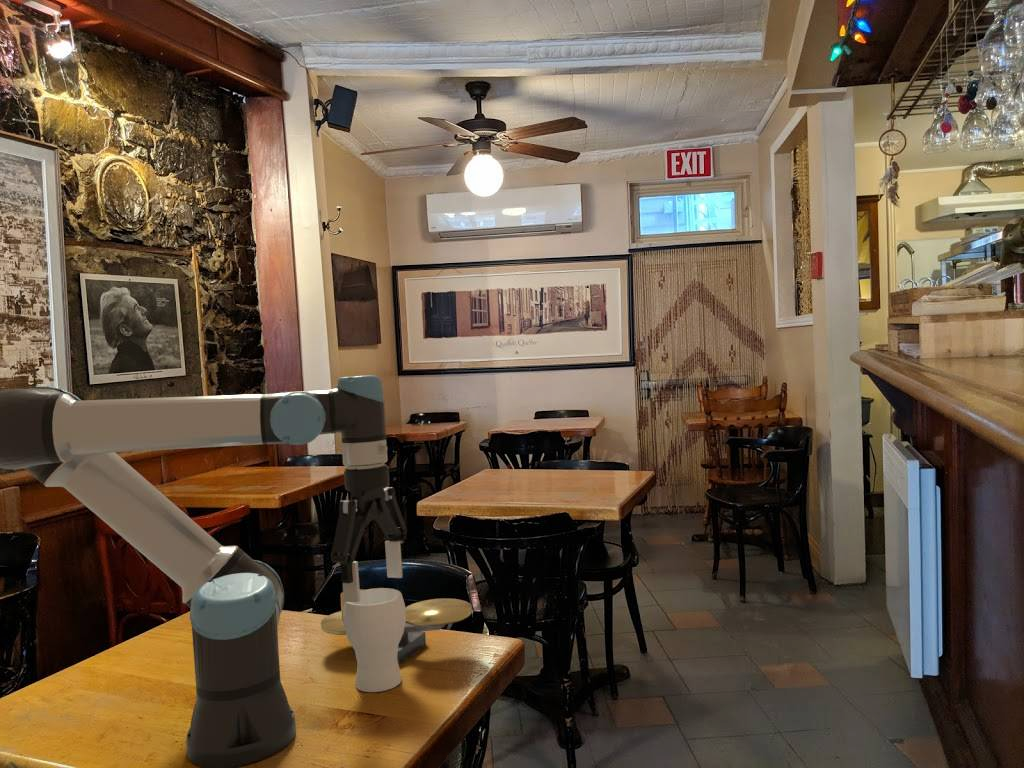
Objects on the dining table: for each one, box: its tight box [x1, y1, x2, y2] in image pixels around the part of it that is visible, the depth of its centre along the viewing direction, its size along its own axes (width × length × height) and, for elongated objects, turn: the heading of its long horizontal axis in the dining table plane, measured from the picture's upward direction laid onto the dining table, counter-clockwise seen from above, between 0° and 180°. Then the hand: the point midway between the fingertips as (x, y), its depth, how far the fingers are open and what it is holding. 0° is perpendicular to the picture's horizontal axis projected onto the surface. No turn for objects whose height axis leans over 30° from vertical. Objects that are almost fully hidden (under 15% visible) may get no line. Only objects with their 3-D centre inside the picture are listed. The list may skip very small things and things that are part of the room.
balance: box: [320, 588, 473, 665], centre depth 140 cm, size 13×31×12 cm, turn 69°
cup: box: [343, 587, 407, 693], centre depth 126 cm, size 11×11×15 cm
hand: (374, 588), depth 126 cm, fingers open, 13 cm apart
